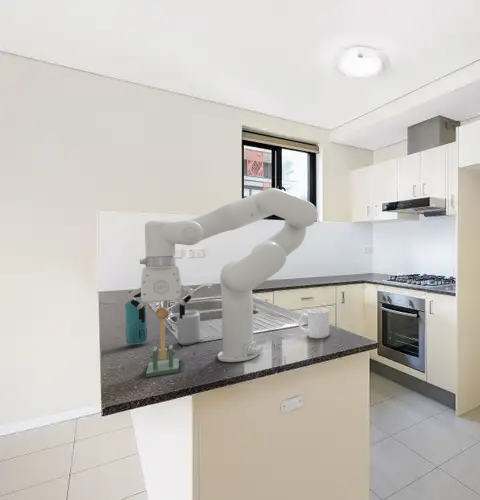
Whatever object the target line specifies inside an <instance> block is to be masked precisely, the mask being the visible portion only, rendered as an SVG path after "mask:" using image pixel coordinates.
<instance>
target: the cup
mask: <svg viewBox="0 0 480 500" xmlns="http://www.w3.org/2000/svg"><path fill="white" fill-rule="evenodd" d="M303 318H307V328H304V327H303V323H302V321H303ZM298 328H299V329H300V331H302V332H304V333H307V336H308V337H309V338H311V339H324V338H328V337H329V335H330V309H329V308H312V309H308V310H307V313H302V314H300V316H299V318H298Z"/></svg>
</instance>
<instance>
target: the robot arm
mask: <svg viewBox="0 0 480 500" xmlns="http://www.w3.org/2000/svg"><path fill="white" fill-rule="evenodd" d="M318 214H319V212H318V208H317V207H316V205H314V204H313V203H312V202H310V201H309V200H306V199H304V198H301V197H299V196H296V195H294V194H291V193H289V192H287V191H284V190H282V189H279V188H276V187H269V188H266V189H265V190H262V191H259V192H256V193H254V194H251V195H248V196H246V197H243V198H240V199H237V200H235V201H232V202H229V203H226V204H223V205H222V206H220V207H218V208H217V209H215V210H212V211H210V212H207V213H205V214H202V215H200V216H197V217H194V218H191V219H189V220H177V221H169V220H149V221H147V222H145V223H144V243H145V245H144V246H145V257H144V258H141V259H139V264H140V265H144V266H145V267H143V268H142V271H141V278H140V279H141V280H140V287H139V288H136V289H134V290H132V291H133V292H131V291H130V292H131V293H129V292H128V293H127V294H126V296H125V297H126V298H127V299H128V301H130V302H131V304H132V305H134V306H135V307H137V309H139V320H142V323H144V322H145V320H146V321H147V318H146V319H145V308H144V305H145V306H146V305H147V303H159V302H171V301H176V302H178V303H179V305H178V308H179V309H178V310H179V311H178V312H180V313H179V314H180V319H182V315H185V310H186V304H188V302H190V300H191V299H192V298H193V296H194V294H195V292H196V291H195V289H194V288H191V287H189V286H186V285H184V284H182V280H181V272H180V268H179V266H177V264H176V263H177V261H176V245H183V246H193V245H197V244H199V243H200V242H201V241H203V240H207V239H209V238H211V237H213V236H218V235H219V234H222V233H226V232H230V231H231V232H232V231H234V230H237V229H240V228H243V227H245V226H246V227H247V226H249V225H251V224H253V223H256V222H258V221H260V220H263V219H266V218H269V217H270V216H273V215H274V216H277V217H279V218H281V219H284V224H283V226H282V228H281V229H280V230H278V231H277V232H276V233H274V234H273V235H272V236H270V237H268V238H267V239H265V240H264V241H262V242H260V243H259V244H257V245H255V246H254V247H253V249H252V250H251V252H250V253H249V254H248V255H247V256H245V257H243V258H242V259H240V260H239V259H236V260H235V259H234V260H231V261H228V262H226V263H225V264H224V266H223V267H222V268H221V271H220V274H219V282H220V283H219V284H220V293H221V294H220V295H221V325H222V327H221V331H222V332H221V334H222V335H221V336H222V338H221V340H222V341H221V342H222V350H221V351H220V352H219V353H218V354H217V360H218V361H220V362H223V363H239V362H245V361H249V360H252V359H255V358H256V357H258V356H259V355H261V354H262V352H263V350H264V346H262V345H257V341H256V340H254V297H253V290H254V289H255V288H257V287H258V286H260V285H261V284H262V283H264V282H266V281H267V280H268V279H270V278H271V277H272V276H274V275H276V274H277V273H278V272H279V271H281V269H282V268H283V267H284V266H285V264H286V261H287V257H288V256H289V255H290V254H292V253H293V252H294V251H295V250H297V249H298V248H299V247H300V246H301V245H302V244H303V242H304V240H305V237H306V233H307V227H310V226H312V225H314V224H315V223H316V222H317V220H318V218H319V215H318ZM182 291H185V292H186V293H188V294H187V296H186V297H184V298H183V297H182ZM139 293H141V297H140V300H142V301H141V303H139V302H138V301H137V300H138V299H136V297H135V298H134V296H135V295H137V294H139Z"/></svg>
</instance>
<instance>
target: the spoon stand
mask: <svg viewBox="0 0 480 500" xmlns="http://www.w3.org/2000/svg"><path fill="white" fill-rule="evenodd" d="M158 350H159V348H158V346H154V347H153V348H152V352H150V358H151V359H152V361H149V362H148V365H147V368H146V372H145V378H150V377H158V376H162V375H163V376H164V375H169V374H175V373H180V372H179V371H180V358H178V357H177V358H174V356H175V355H176V351H175V350H176V349H174V345H173V344H169V345H168V359H162V360H159V353H158Z"/></svg>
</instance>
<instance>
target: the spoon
mask: <svg viewBox="0 0 480 500" xmlns="http://www.w3.org/2000/svg"><path fill="white" fill-rule="evenodd" d="M154 313H155V314H154V315H155V317H156V319H159V322H160V323H159V325H160V331H159V333H160V348H158V361H163V360H168V359H169V349H168V348H167V347H166V321H165V320H166V319H167V318H168V317H169V316H170V310H169V309H168V308H167V307H165V306H161V307H159V308H157V309H156V310H155V312H154Z"/></svg>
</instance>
